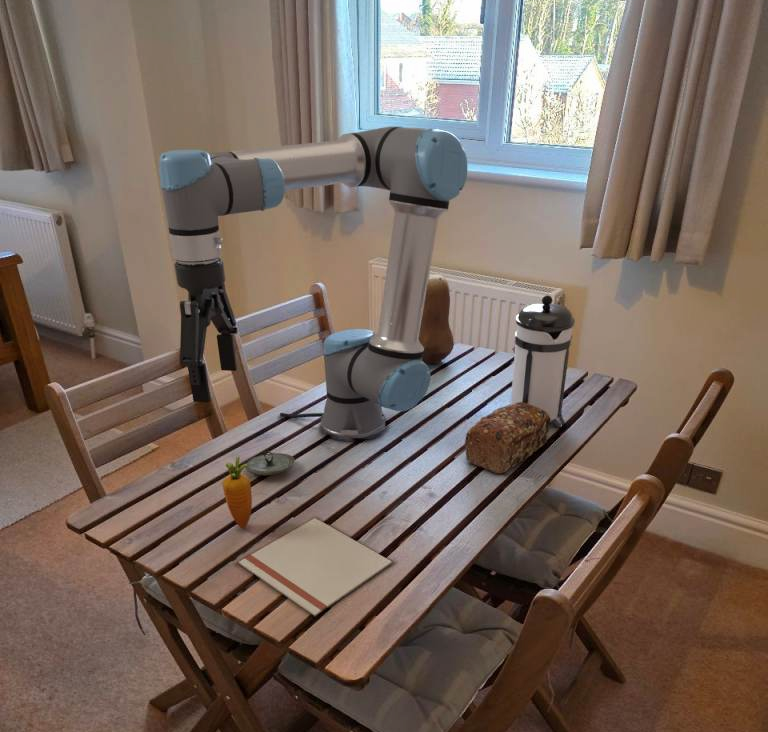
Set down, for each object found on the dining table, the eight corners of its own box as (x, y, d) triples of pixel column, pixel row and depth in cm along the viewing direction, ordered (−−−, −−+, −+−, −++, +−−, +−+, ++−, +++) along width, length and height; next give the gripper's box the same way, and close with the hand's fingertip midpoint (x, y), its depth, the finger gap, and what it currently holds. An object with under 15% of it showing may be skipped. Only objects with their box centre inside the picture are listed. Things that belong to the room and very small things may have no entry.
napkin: (238, 563, 121) (238, 561, 121) (315, 519, 132) (315, 517, 132) (315, 616, 110) (314, 614, 109) (391, 563, 121) (391, 561, 120)
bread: (502, 478, 144) (505, 435, 138) (461, 461, 150) (463, 420, 145) (550, 445, 155) (555, 405, 150) (510, 430, 161) (513, 391, 156)
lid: (267, 493, 143) (270, 474, 140) (234, 469, 147) (236, 450, 144) (302, 473, 151) (305, 455, 148) (269, 450, 154) (272, 432, 151)
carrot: (244, 517, 133) (234, 450, 125) (262, 527, 131) (252, 458, 123) (224, 529, 130) (212, 461, 122) (242, 539, 127) (230, 469, 119)
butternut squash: (429, 350, 206) (431, 265, 193) (462, 362, 197) (465, 274, 184) (394, 362, 198) (393, 275, 185) (426, 376, 190) (427, 285, 176)
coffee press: (579, 415, 167) (597, 292, 152) (545, 439, 157) (560, 310, 142) (518, 396, 177) (529, 279, 162) (482, 417, 167) (490, 295, 152)
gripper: (191, 281, 97) (212, 417, 108) (245, 242, 119) (258, 359, 130) (141, 280, 98) (166, 414, 109) (203, 241, 119) (219, 357, 130)
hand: (216, 385), depth 119 cm, fingers open, 13 cm apart
